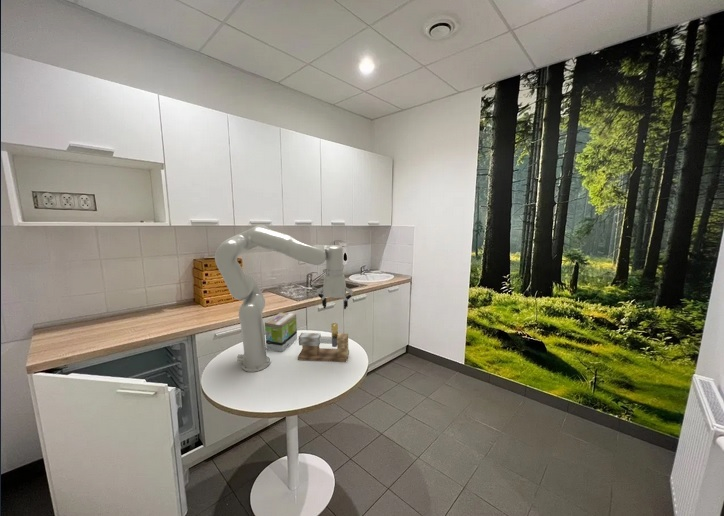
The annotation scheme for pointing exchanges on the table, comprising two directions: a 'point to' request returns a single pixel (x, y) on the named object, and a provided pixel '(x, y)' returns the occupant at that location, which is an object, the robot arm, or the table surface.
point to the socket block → (342, 345)
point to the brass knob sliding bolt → (332, 339)
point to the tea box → (281, 331)
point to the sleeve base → (317, 349)
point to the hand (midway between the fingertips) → (335, 307)
